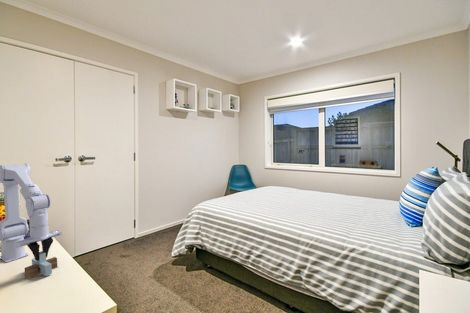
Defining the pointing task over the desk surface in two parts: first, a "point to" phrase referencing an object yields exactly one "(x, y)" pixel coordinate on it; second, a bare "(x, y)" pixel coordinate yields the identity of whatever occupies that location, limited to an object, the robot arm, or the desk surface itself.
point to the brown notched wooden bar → (34, 269)
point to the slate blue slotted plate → (43, 264)
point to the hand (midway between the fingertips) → (41, 258)
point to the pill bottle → (28, 230)
